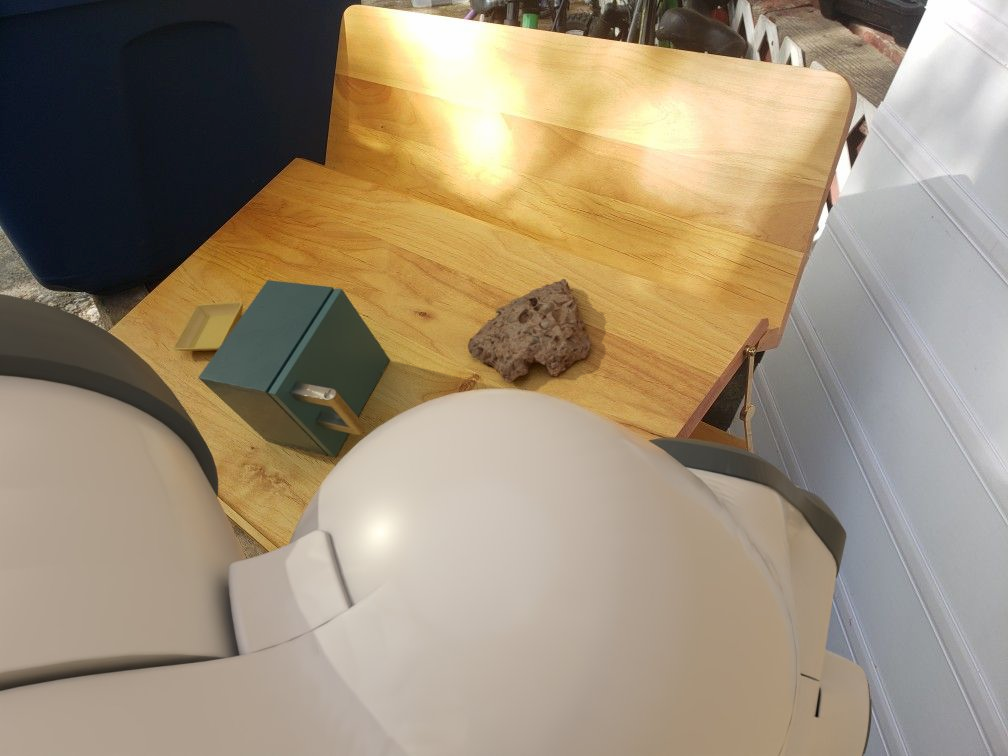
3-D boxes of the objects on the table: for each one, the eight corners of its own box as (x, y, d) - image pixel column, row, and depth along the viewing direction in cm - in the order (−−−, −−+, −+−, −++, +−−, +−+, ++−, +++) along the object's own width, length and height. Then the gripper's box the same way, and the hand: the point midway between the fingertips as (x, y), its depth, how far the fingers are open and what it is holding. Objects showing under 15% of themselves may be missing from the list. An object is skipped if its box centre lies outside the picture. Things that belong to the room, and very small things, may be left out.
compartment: (382, 358, 88) (332, 286, 77) (328, 456, 81) (265, 391, 70) (322, 349, 92) (267, 279, 81) (265, 440, 85) (197, 377, 75)
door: (427, 365, 84) (383, 293, 74) (374, 467, 78) (317, 402, 67) (383, 358, 87) (335, 287, 77) (329, 455, 80) (267, 392, 70)
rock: (567, 285, 86) (561, 263, 83) (604, 359, 78) (599, 337, 75) (462, 327, 87) (452, 307, 84) (487, 405, 78) (477, 385, 75)
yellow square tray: (227, 356, 97) (219, 347, 95) (180, 358, 99) (170, 349, 98) (251, 310, 101) (243, 301, 100) (205, 312, 104) (197, 303, 103)
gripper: (659, 510, 55) (506, 474, 61) (581, 785, 45) (408, 711, 51) (666, 541, 60) (524, 505, 66) (597, 796, 50) (437, 727, 56)
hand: (472, 597), depth 58 cm, fingers open, 8 cm apart
